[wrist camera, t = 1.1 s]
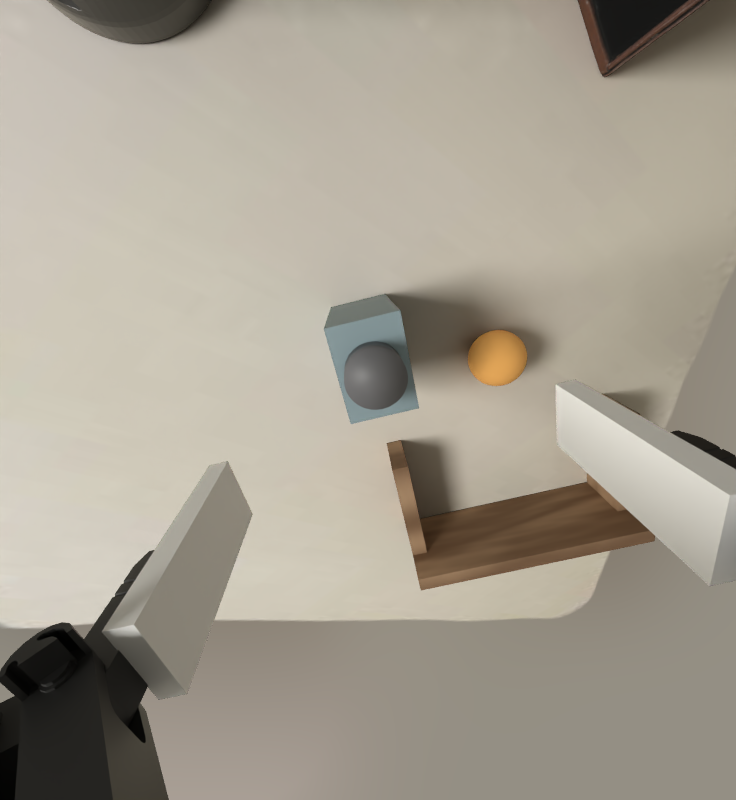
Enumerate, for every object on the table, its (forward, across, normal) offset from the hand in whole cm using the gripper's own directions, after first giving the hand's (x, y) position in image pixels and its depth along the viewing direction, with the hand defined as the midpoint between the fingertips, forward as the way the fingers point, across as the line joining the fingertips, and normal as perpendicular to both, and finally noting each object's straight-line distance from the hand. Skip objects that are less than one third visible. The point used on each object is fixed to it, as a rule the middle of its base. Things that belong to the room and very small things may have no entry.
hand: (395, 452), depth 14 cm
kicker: (+20, 0, 0) cm, 21 cm away
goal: (+20, +11, -17) cm, 29 cm away
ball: (+18, +11, -4) cm, 21 cm away
